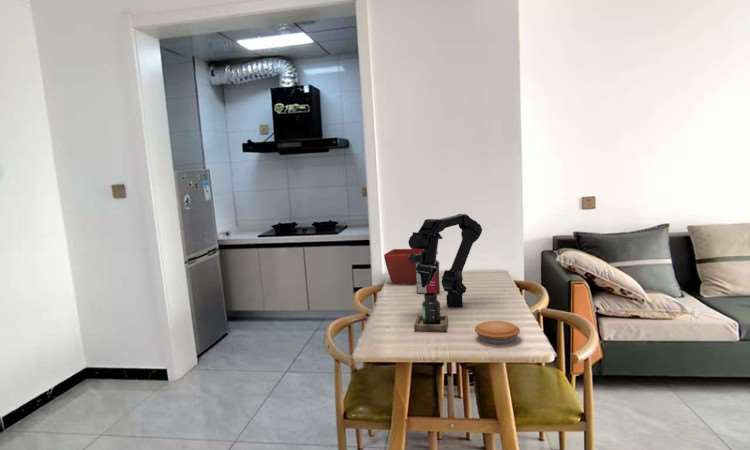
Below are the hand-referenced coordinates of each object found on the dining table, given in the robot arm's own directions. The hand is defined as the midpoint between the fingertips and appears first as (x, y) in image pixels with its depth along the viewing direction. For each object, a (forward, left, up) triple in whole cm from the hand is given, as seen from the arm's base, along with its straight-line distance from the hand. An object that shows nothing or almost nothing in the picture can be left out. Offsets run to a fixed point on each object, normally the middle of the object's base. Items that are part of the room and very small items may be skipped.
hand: (425, 285), depth 197 cm
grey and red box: (+2, -32, -12) cm, 34 cm away
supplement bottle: (-4, +17, -11) cm, 21 cm away
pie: (-28, +29, -12) cm, 42 cm away
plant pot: (+16, -56, -12) cm, 60 cm away
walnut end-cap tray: (-4, +17, -12) cm, 21 cm away
